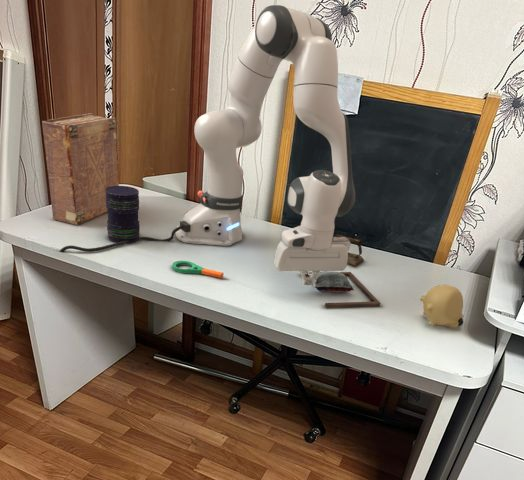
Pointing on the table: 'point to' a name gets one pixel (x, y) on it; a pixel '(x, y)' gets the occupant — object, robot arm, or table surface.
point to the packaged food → (332, 282)
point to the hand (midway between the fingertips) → (307, 284)
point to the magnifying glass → (195, 269)
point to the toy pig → (443, 306)
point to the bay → (354, 304)
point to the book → (80, 165)
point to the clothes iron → (352, 258)
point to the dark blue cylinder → (122, 214)
